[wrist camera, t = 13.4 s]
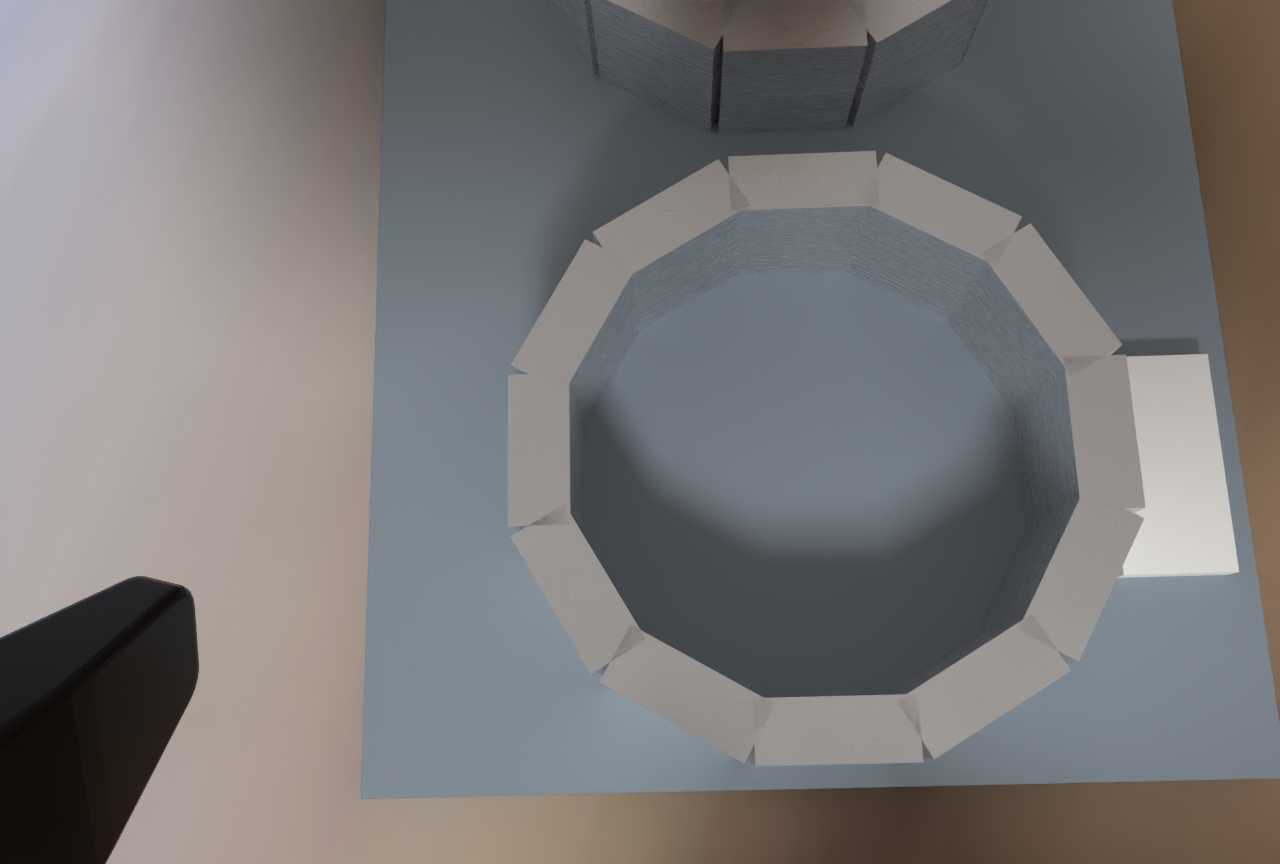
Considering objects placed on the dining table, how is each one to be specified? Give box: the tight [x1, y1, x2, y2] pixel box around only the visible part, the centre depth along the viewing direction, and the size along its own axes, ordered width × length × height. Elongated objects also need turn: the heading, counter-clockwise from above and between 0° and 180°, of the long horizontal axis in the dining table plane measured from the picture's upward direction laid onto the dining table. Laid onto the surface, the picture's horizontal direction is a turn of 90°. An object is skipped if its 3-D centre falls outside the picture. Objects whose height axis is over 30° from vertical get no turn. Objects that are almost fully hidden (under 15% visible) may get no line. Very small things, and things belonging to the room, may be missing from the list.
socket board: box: [361, 0, 1280, 799], centre depth 22 cm, size 23×16×4 cm
